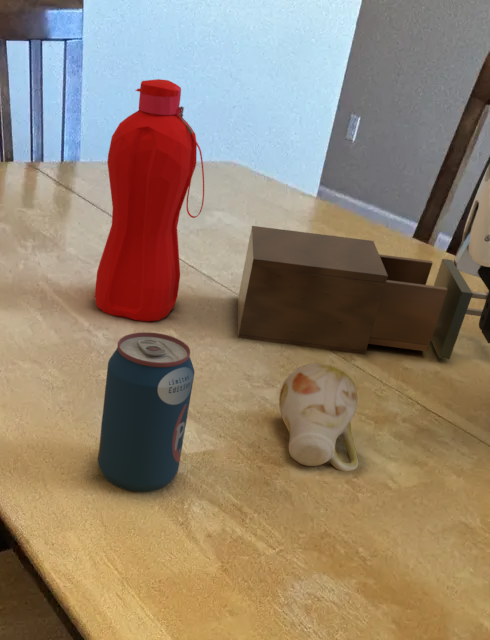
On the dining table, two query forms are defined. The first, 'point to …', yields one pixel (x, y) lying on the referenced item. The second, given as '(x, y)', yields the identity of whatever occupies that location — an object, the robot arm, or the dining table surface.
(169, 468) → the soda can
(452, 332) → the drawer
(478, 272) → the robot arm
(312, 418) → the mug
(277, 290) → the cabinet
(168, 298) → the water bottle
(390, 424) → the dining table surface
